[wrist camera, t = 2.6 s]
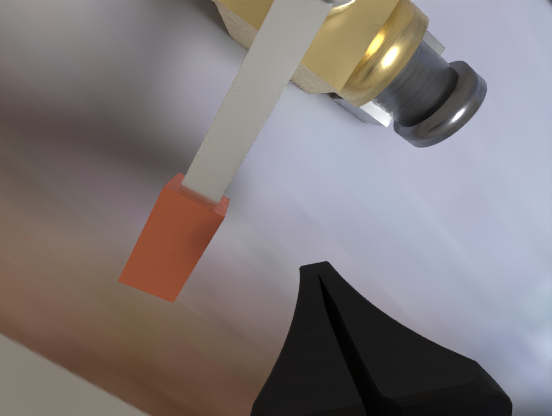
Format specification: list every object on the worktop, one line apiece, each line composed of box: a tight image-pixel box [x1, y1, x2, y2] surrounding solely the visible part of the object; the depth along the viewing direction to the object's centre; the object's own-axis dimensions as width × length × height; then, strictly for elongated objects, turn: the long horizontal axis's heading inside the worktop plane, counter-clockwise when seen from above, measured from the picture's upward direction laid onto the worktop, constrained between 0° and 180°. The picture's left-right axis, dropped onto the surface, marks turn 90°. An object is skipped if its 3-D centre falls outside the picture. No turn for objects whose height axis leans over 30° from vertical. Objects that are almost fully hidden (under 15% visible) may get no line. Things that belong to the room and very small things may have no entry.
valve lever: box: [118, 0, 355, 302], centre depth 8 cm, size 14×3×2 cm, turn 148°
